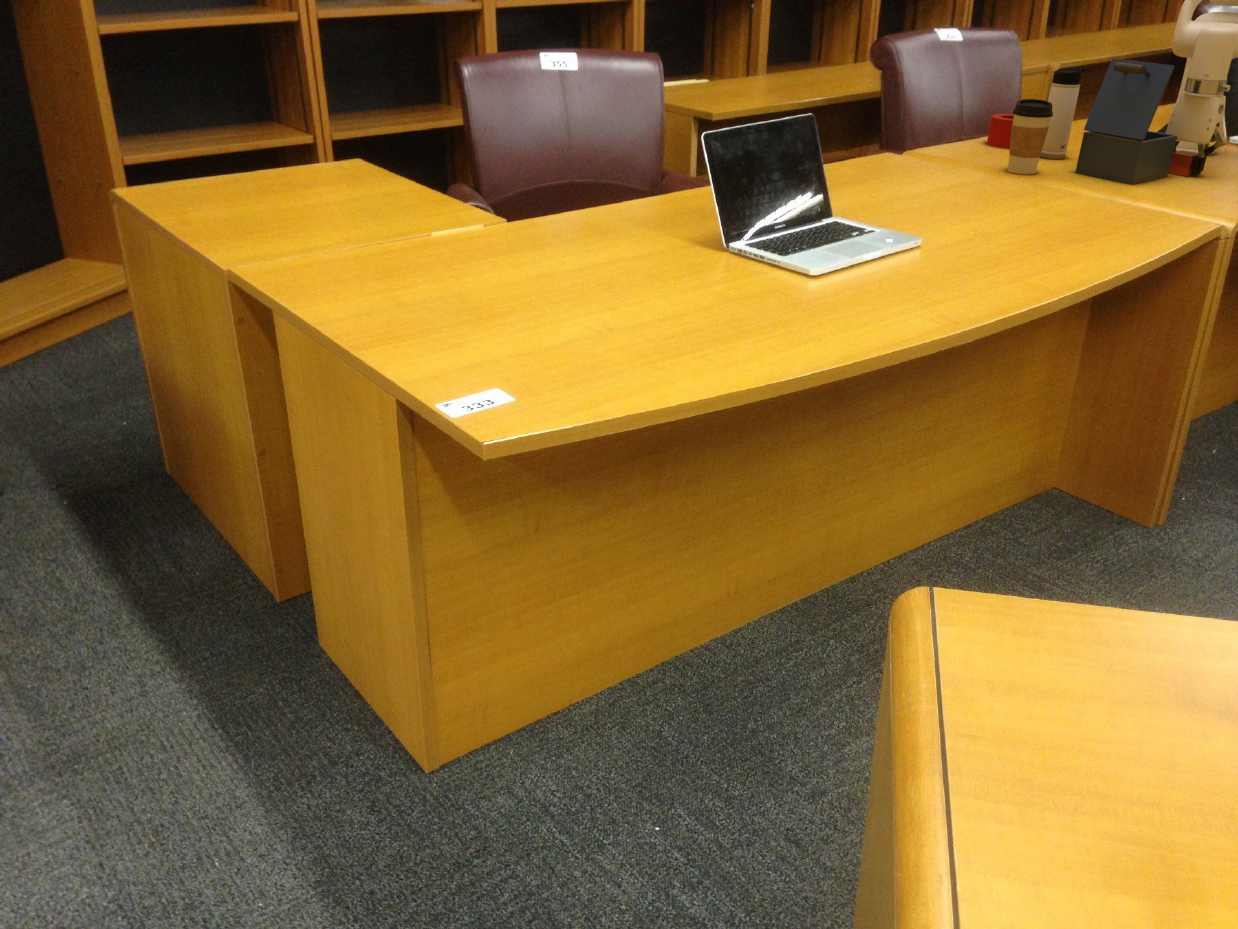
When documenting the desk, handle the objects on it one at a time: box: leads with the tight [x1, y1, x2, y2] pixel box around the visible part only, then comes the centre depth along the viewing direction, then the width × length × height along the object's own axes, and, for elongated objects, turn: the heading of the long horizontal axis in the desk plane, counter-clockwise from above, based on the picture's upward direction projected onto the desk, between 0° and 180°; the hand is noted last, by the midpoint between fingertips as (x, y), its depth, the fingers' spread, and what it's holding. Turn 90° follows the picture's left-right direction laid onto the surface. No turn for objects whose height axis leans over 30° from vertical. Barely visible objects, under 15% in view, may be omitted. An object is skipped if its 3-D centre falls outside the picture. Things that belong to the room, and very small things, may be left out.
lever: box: [986, 113, 1014, 149], centre depth 259 cm, size 18×9×7 cm, turn 59°
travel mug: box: [1040, 67, 1086, 160], centre depth 246 cm, size 6×7×20 cm
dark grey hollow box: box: [1075, 130, 1178, 185], centre depth 232 cm, size 15×14×9 cm
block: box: [1168, 150, 1198, 177], centre depth 235 cm, size 4×4×4 cm
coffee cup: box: [1007, 98, 1053, 176], centre depth 231 cm, size 8×8×15 cm
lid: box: [1083, 57, 1175, 141], centre depth 222 cm, size 15×14×6 cm
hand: (1182, 171), depth 236 cm, fingers open, 5 cm apart
